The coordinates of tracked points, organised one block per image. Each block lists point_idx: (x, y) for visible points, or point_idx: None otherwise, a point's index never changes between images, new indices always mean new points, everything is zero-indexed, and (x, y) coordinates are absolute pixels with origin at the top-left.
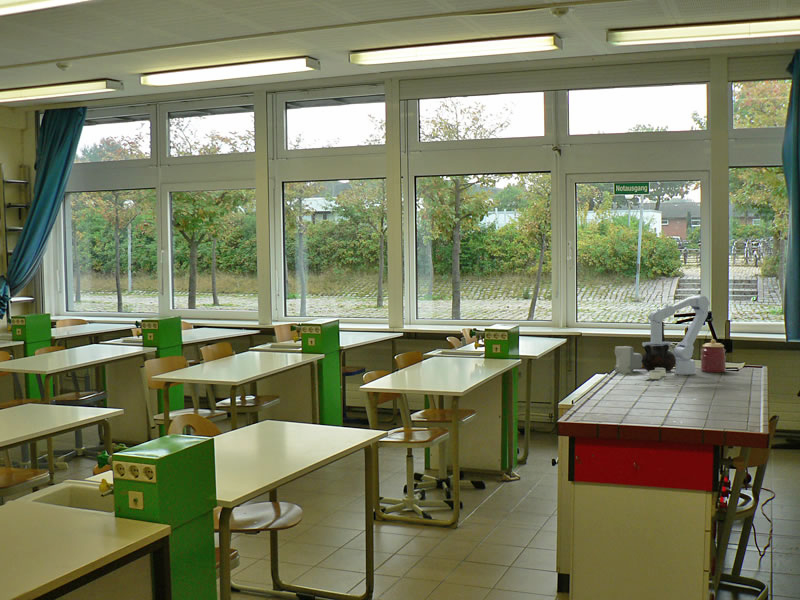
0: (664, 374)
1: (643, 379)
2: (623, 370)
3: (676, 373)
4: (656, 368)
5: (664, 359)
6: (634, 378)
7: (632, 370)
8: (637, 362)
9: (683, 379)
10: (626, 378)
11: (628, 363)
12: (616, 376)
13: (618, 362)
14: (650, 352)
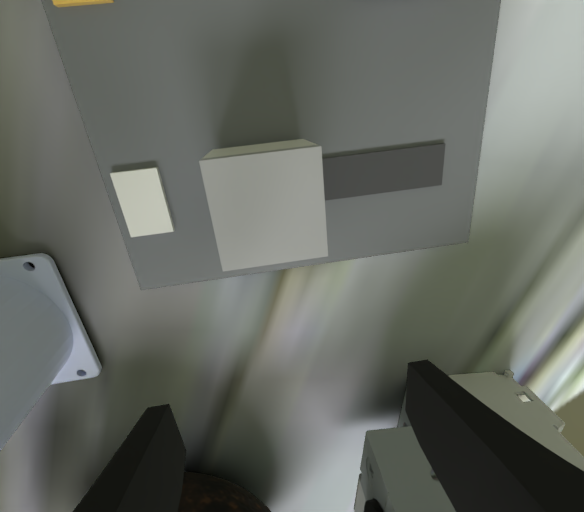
0: (223, 149)
1: None
2: (501, 402)
3: (56, 330)
4: (324, 203)
5: (149, 407)
6: (482, 219)
7: None
8: (427, 482)
9: (4, 99)
10: (543, 224)
11: None
12: (547, 329)
13: None
14: (542, 488)
